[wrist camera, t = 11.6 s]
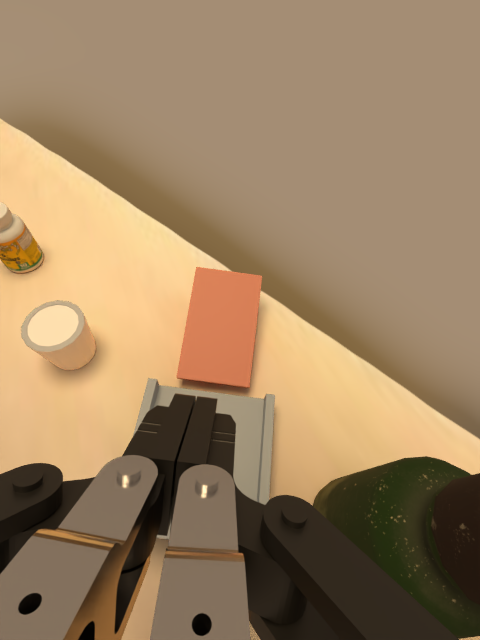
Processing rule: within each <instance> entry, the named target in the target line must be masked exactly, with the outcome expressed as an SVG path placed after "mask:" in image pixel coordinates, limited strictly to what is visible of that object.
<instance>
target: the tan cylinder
mask: <svg viewBox="0 0 480 640" xmlns="http://www.w3.org/2000/svg"><path fill="white" fill-rule="evenodd" d="M21 336H22V339H23V340H24V342H25V344H26V345H27V346H28V347H30V348H31V349H32V350H34V351H35V352H37V353H38V354H40V355H41V356H43V357H44V358H45V359H47V360H48V361H50V362H51V363H53V364H54V365H56V366H57V367H59V368H61V369H63V370H75V369H79V368H81V367H83V366H84V365H86V364H88V363H89V362H90V360H91V359H92V358H93V357H94V354H95V351H96V344H95V340H94V338H93V335H92V333H91V331H90V328H89V326H88V323H87V321H86V318H85V316H84V314H83V312H82V311H81V310H80V308H79V307H78V306H77V305H75V304H73V303H71V302H68V301H59V300H57V301H53V302H48V303H45V304H43V305H41V306H39V307H37V308H35V309H34V310H33V311H32V312H31V313H30V314H29V315H28V316H27V317H26V318H25V321H24V323H23V325H22V327H21Z"/></svg>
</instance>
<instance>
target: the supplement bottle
mask: <svg viewBox="0 0 480 640" xmlns="http://www.w3.org/2000/svg"><path fill="white" fill-rule="evenodd" d="M0 259H1V261H2V262H3V263H4V264H5V266H6V267H7V268H8V269H9V270H11V271H13V272H16V273H25V272H29V271H32V270H34V269H36V268H37V267H39V265H40V264H41V263H42V261H43V252H42V250H41V249H40V247H39V245H38V244H37V242H36V241H35V239H34V238H33V236H32V234H31V233H30V231H29V230H28V228H27V227H26V225H25V223H24V222H23V220H22V219H21V218H20V217H19V216H17V215H15V214H12V213H11V211H10V210H9V209H8V207H7V206H6V205H5V204H4V203H2V202H0Z"/></svg>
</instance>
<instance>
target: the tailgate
mask: <svg viewBox="0 0 480 640" xmlns="http://www.w3.org/2000/svg"><path fill="white" fill-rule="evenodd" d="M261 281H262V276H259V275H252V274H244V273H237V272H230V271H222V270H215V269H208V268H201V267H196V272H195V277H194V283H193V289H192V294H191V300H190V306H189V311H188V317H187V322H186V328H185V334H184V339H183V345H182V350H181V356H180V362H179V367H178V373H177V378H178V379H184V380H192V381H199V382H207V383H215V384H222V385H230V386H237V387H245V388H249V385H250V377H251V368H252V359H253V350H254V342H255V333H256V324H257V316H258V307H259V298H260V290H261Z"/></svg>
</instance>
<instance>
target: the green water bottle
mask: <svg viewBox="0 0 480 640" xmlns="http://www.w3.org/2000/svg"><path fill="white" fill-rule="evenodd" d="M313 507H314V508H315V509H317V510H318V511H319V512H320V513H321V514H322V515H323V516H324V517H325V518H326V519H327V520H329V521H330V522H331V523H332V524H333V525H334V526H335V527H336V528H337V529H338V530H340V531H341V532H342V533H343V534H344V535H345V536H346V537H347V538H348V539H349V540H350V541H352V542H353V543H354V544H355V545H356V546H357V547H358V548H359V549H360V550H361V551H363V552H364V553H365V554H366V555H367V556H368V557H369V558H370V559H371V560H372V561H373V562H375V563H376V564H377V565H378V566H379V567H380V568H381V569H382V570H383V571H384V572H386V573H387V574H388V575H389V576H390V577H391V578H392V579H393V580H394V581H395V582H396V583H398V584H399V585H400V586H401V587H402V588H403V589H404V590H405V591H406V592H407V593H409V594H410V595H411V596H412V597H413V598H414V599H415V600H416V601H417V602H418V603H419V604H421V605H422V606H423V607H424V608H425V609H426V610H427V611H428V612H429V613H430V614H432V615H433V616H434V617H435V618H436V619H437V620H438V621H439V622H440V623H441V624H442V625H444V626H445V627H446V628H447V629H448V630H449V631H450V632H451V633H452V634H453V635H455V636H456V637H457V638H459V639H460V638H468V637H475V636H480V473H479V474H475V475H471V474H469V473H468V472H466V471H464V470H462V469H460V468H458V467H456V466H454V465H452V464H450V463H447V462H445V461H443V460H440V459H436V458H431V457H414V458H404V459H401V460H397V461H394V462H391V463H387V464H384V465H381V466H377V467H374V468H371V469H367V470H364V471H361V472H357V473H354V474H351V475H347V476H344V477H341V478H338V479H335V480H333V481H331V482H330V483H329V484H327V485H326V486H325V487H324V488H323V489H321V490H320V492H319V493H318V495H317V496H316V498H315V501H314V504H313Z"/></svg>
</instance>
